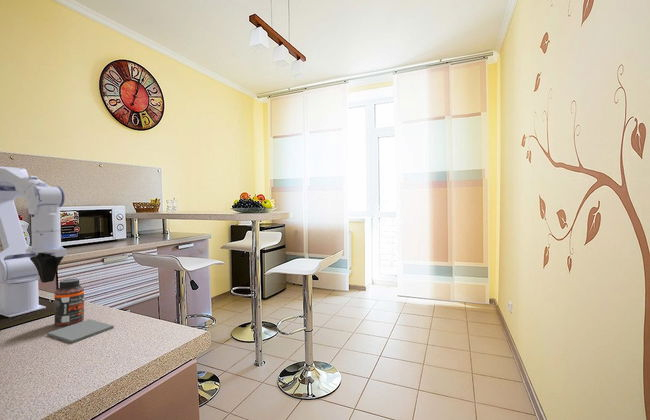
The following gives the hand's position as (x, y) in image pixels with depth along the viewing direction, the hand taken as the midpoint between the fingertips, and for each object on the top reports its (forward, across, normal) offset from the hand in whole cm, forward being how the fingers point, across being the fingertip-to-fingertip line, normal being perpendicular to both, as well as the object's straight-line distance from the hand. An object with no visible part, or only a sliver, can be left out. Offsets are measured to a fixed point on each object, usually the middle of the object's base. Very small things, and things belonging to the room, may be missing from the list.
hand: (47, 281), depth 80 cm
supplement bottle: (+11, +7, +2) cm, 13 cm away
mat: (+11, +16, 0) cm, 19 cm away
